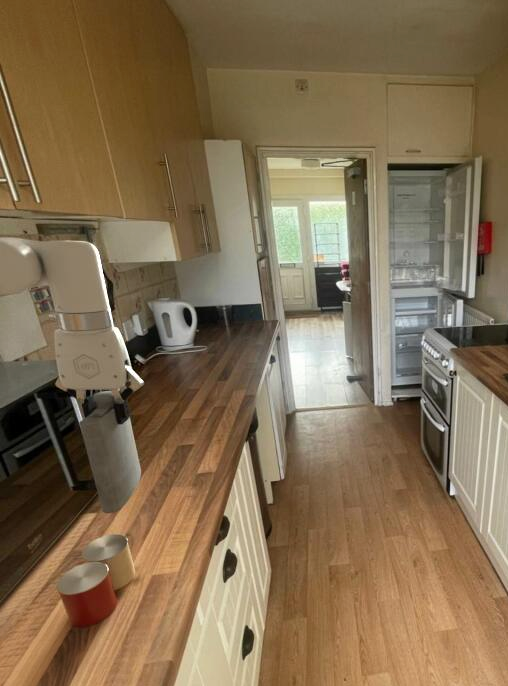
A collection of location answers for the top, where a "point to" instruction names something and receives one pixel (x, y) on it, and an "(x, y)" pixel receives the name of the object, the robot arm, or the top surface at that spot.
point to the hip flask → (111, 454)
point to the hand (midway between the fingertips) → (108, 420)
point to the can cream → (112, 558)
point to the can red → (87, 594)
